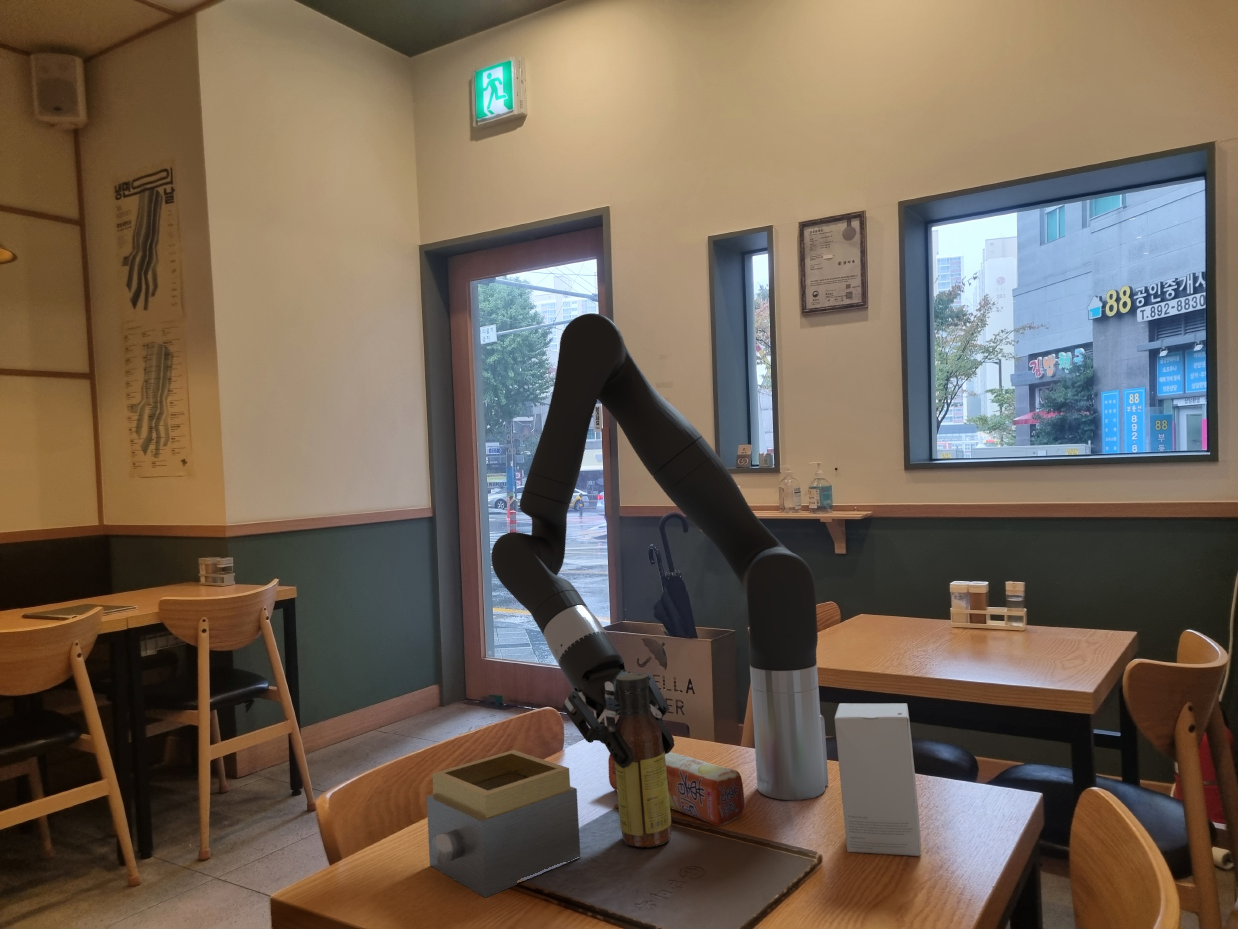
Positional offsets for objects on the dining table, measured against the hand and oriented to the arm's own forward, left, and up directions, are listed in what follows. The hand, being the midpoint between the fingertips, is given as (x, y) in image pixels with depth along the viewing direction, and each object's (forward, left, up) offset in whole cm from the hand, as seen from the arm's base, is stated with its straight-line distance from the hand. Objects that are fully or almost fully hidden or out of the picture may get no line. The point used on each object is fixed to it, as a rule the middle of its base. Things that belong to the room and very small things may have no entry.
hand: (649, 756), depth 101 cm
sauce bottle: (0, -2, -11) cm, 11 cm away
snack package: (-11, -8, -11) cm, 18 cm away
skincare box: (-17, +20, -11) cm, 29 cm away
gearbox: (+15, -10, -10) cm, 21 cm away
